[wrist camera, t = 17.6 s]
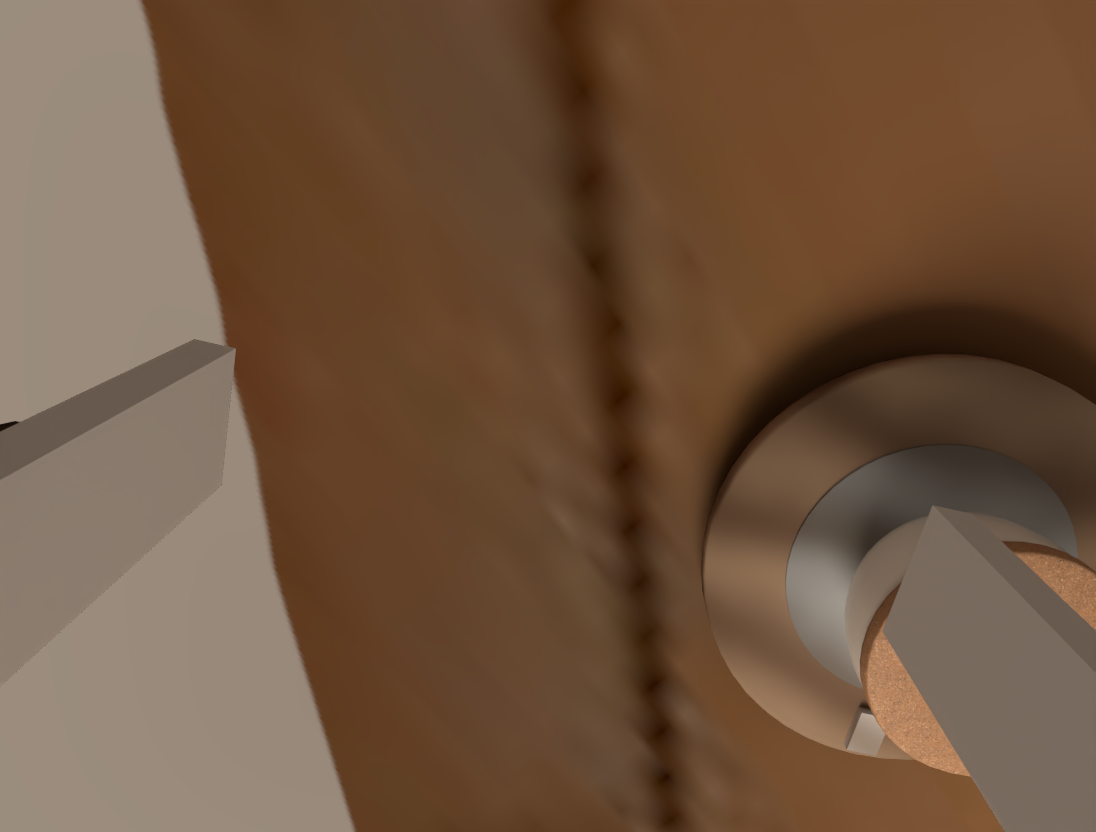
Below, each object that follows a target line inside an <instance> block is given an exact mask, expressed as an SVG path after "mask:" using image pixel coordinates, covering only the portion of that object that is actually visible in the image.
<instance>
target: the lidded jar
mask: <svg viewBox="0 0 1096 832" xmlns="http://www.w3.org/2000/svg"><path fill="white" fill-rule="evenodd" d="M961 512H963V511H961ZM966 513H970V514H973V515H974V516H975V517H976V518H977V519H978V520H979V521H980V522H982V523H983V524H984V525H985V526H986V527H987V528H988V529H989V530H990V531H991V532H992V533H993V534H994V535H995V536H996V537H997V538H998V539H999V540H1001V541H1002V542H1003V543H1004V544H1005V545H1006V546H1007V547H1008V548H1009V549H1010V550H1011V551H1012V552H1013V553H1014V554H1015V555H1016V556H1017V557H1019V558H1020V559H1021V560H1022V561H1023V562H1024V563H1025V564H1026V565H1027V566H1028V567H1029V568H1030V569H1031V570H1032V571H1033V572H1034V573H1035V574H1036V575H1038V576H1039V577H1040V578H1041V579H1042V580H1043V581H1044V582H1045V583H1046V584H1047V585H1048V586H1049V587H1050V588H1051V589H1052V590H1053V591H1054V592H1056V593H1057V594H1058V595H1059V596H1060V597H1061V598H1062V599H1063V600H1064V601H1065V602H1066V603H1067V604H1068V605H1069V606H1070V607H1071V608H1072V609H1073V610H1075V611H1076V612H1077V613H1078V614H1079V615H1080V616H1081V617H1082V618H1083V619H1084V620H1085V621H1086V622H1087V623H1088V624H1089V625H1090V626H1091V627H1093V628H1094V629H1095V630H1096V571H1094V570H1093V569H1092V568H1091V567H1089V566H1088V565H1087V564H1085V563H1084V562H1082V561H1081V560H1079V559H1077V558H1075V557H1073V556H1072V555H1070V554H1069V553H1068V552H1066V551H1065V550H1064V549H1062V548H1061V547H1060V546H1058V545H1057V544H1056V543H1054V542H1053V541H1051V540H1049V539H1048V538H1046V537H1044V536H1042V535H1040V534H1039V533H1037V532H1035V531H1033V530H1031V529H1029V528H1027V527H1025V526H1023V525H1021V524H1018V523H1015V522H1013V521H1010V520H1007V519H1004V518H1001V517H998V516H995V515H989V514H983V513H977V512H966ZM927 518H928V516H924V517H920V518H917V519H915V520H912V521H910V522H907V523H905V524H903V525H901V526H899V527H897V528H896V529H894V530H892V531H890V532H889V533H888V534H887V535H885V536H884V537H883V538H881V539H880V540H879V541H878V542H877V543H876V544H875V545H874V546H873V547H872V548H871V549H870V550H869V551H868V552H867V554H866V555H865V557H864V558H863V559H862V561H861V562H860V564H859V565H858V567H857V569H856V571H855V573H854V575H853V577H852V579H851V583H850V586H849V589H848V593H847V598H846V605H845V612H844V615H845V631H846V640H847V644H848V648H849V652H850V656H851V659H852V663H853V667H854V669H855V671H856V674H857V676H858V678H859V680H860V683H861V685H862V687H863V691H864V695H865V698H866V700H867V702H868V705H869V707H870V709H871V711H872V713H873V715H874V718H875V719H876V721H877V723H878V724H879V726H880V727H881V729H882V730H883V731H884V733H885V734H886V736H887V737H888V738H889V739H890V740H891V741H892V742H893V743H894V744H895V745H896V746H897V747H898V748H899V749H901V750H902V751H904V752H905V753H907V754H908V755H909V756H911V757H912V758H914V759H916V760H918V761H920V762H922V763H924V764H926V765H928V766H930V767H933V768H936V769H939V770H943V771H946V772H949V773H954V774H960V775H965V776H970V774H969V772H968V771H967V769H966V767H965V766H964V764H963V763H962V761H961V759H960V758H959V756H958V754H957V753H956V751H955V749H954V748H953V746H952V745H951V743H950V741H949V740H948V738H947V736H946V735H945V733H944V731H943V730H942V728H941V727H940V725H939V723H938V722H937V720H936V718H935V717H934V715H933V713H932V712H931V710H930V709H929V707H928V705H927V704H926V702H925V700H924V699H923V697H922V695H921V694H920V692H919V691H918V689H917V687H916V686H915V684H914V682H913V681H912V679H911V677H910V676H909V674H908V673H907V671H906V669H905V668H904V666H903V664H902V663H901V661H900V659H899V658H898V656H897V655H896V653H895V651H894V650H893V648H892V646H891V645H890V643H889V641H888V640H887V638H886V637H885V635H884V633H883V632H882V630H883V628H884V625H885V623H886V620H887V618H888V615H889V613H890V610H891V608H892V605H893V603H894V600H895V598H896V595H897V593H898V590H899V588H900V585H901V583H902V580H903V578H904V575H905V573H906V570H907V568H908V565H909V563H910V560H911V558H912V555H913V553H914V550H915V548H916V545H917V543H918V540H919V538H920V535H921V533H922V530H923V528H924V525H925V523H926V520H927Z"/></svg>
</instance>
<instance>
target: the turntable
mask: <svg viewBox="0 0 1096 832" xmlns="http://www.w3.org/2000/svg"><path fill="white" fill-rule="evenodd" d="M932 505H935V506H939V507H944V508H948V509H952V510H957V511H963V512H977V513H983V514H989V515H995V516H998V517H1001V518H1004V519H1007V520H1010V521H1013V522H1015V523H1018V524H1021V525H1023V526H1025V527H1027V528H1029V529H1031V530H1033V531H1035V532H1037V533H1039V534H1040V535H1042V536H1044V537H1046V538H1048V539H1049V540H1051V541H1053V542H1054V543H1056V544H1057V545H1058V546H1060V547H1061V548H1062V549H1064V550H1065V551H1066V552H1068V553H1069V554H1070V555H1072V556H1073V557H1075V558H1077V559H1079V560H1081V561H1082V562H1084V563H1085V564H1087V565H1088V566H1089V567H1091V568H1092V569H1093V570H1094V571H1096V405H1095V404H1094V403H1092V402H1091V401H1089V400H1088V399H1086V398H1085V397H1083V396H1081V395H1080V394H1078V393H1077V392H1075V391H1074V390H1072V389H1071V388H1069V387H1067V386H1065V385H1063V384H1061V383H1058V382H1056V381H1054V380H1052V379H1050V378H1048V377H1046V376H1044V375H1042V374H1039V373H1037V372H1035V371H1033V370H1031V369H1028V368H1026V367H1023V366H1019V365H1016V364H1013V363H1009V362H1006V361H1003V360H999V359H994V358H987V357H981V356H975V355H969V354H928V355H917V356H906V357H902V358H897V359H893V360H888V361H883V362H879V363H875V364H872V365H869V366H866V367H863V368H860V369H858V370H855V371H852V372H849V373H846V374H844V375H842V376H840V377H838V378H836V379H834V380H832V381H829V382H827V383H825V384H823V385H821V386H819V387H817V388H816V389H814V390H813V391H811V392H809V393H808V394H806V395H805V396H803V397H802V398H800V399H799V400H797V401H795V402H794V403H792V404H791V405H790V406H789V407H787V408H786V409H785V410H784V411H783V412H781V413H780V414H779V415H778V416H776V417H775V418H774V419H773V420H772V421H770V422H769V423H768V424H767V425H766V426H765V427H764V428H763V429H762V431H761V432H760V433H759V434H758V435H757V436H756V437H755V438H754V439H753V440H752V441H751V442H750V443H749V444H748V446H747V447H746V448H745V450H744V451H743V452H742V454H741V455H740V457H739V458H738V459H737V461H736V462H735V463H734V465H733V466H732V468H731V469H730V471H729V473H728V475H727V477H726V479H725V480H724V482H723V484H722V486H721V488H720V489H719V491H718V494H717V496H716V499H715V502H714V504H713V507H712V509H711V512H710V515H709V518H708V522H707V527H706V531H705V535H704V539H703V548H702V560H701V575H702V591H703V595H704V600H705V605H706V609H707V614H708V618H709V622H710V626H711V630H712V632H713V635H714V638H715V640H716V643H717V646H718V648H719V651H720V653H721V655H722V657H723V658H724V660H725V662H726V664H727V666H728V667H729V669H730V671H731V673H732V674H733V676H734V677H735V678H736V680H737V681H738V682H739V683H740V685H741V686H742V687H743V689H744V690H745V691H746V693H747V694H748V695H749V696H750V697H751V698H753V699H754V700H755V701H756V702H757V703H758V704H759V705H760V706H761V707H762V708H763V709H764V710H765V711H766V712H768V713H769V714H770V715H772V716H773V717H774V718H776V719H777V720H778V721H780V722H781V723H782V724H784V725H785V726H787V727H789V728H791V729H792V730H794V731H796V732H798V733H800V734H801V735H803V736H805V737H807V738H809V739H812V740H814V741H817V742H819V743H821V744H824V745H826V746H829V747H832V748H835V749H839V750H843V751H846V752H850V753H853V754H858V755H864V756H871V757H877V758H886V759H907V760H911V759H914V758H912V757H911V756H909V755H908V754H907V753H905V752H904V751H902V750H901V749H899V748H898V747H897V746H896V745H895V744H894V743H893V742H892V741H891V740H890V739H889V738H888V737H887V736H886V734H885V733H884V731H883V730H882V729H881V727H880V726H879V724H878V723H877V721H876V719H875V718H874V715H873V713H872V711H871V709H870V707H869V705H868V702H867V700H866V698H865V695H864V691H863V687H862V685H861V683H860V680H859V678H858V676H857V674H856V671H855V669H854V667H853V663H852V659H851V656H850V652H849V648H848V644H847V640H846V631H845V615H844V612H845V605H846V598H847V593H848V589H849V586H850V583H851V579H852V577H853V575H854V573H855V571H856V569H857V567H858V565H859V564H860V562H861V561H862V559H863V558H864V557H865V555H866V554H867V552H868V551H869V550H870V549H871V548H872V547H873V546H874V545H875V544H876V543H877V542H878V541H879V540H880V539H881V538H883V537H884V536H885V535H887V534H888V533H889V532H890V531H892V530H894V529H896V528H897V527H899V526H901V525H903V524H905V523H907V522H910V521H912V520H915V519H917V518H920V517H924V516H928V515H929V513H930V510H931V508H932Z"/></svg>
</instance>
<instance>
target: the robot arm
mask: <svg viewBox="0 0 1096 832" xmlns="http://www.w3.org/2000/svg"><path fill="white" fill-rule="evenodd" d="M235 351H236V349H235V348H231V347H227V346H222V345H217V344H213V343H208V342H204V341H200V340H195V339H194V340H192V341H190V342H188V343H185V344H183V345H181V346H179V347H177V348H175V349H173V350H171V351H169V352H167V353H164V354H162V355H160V356H158V357H156V358H154V359H152V360H150V361H148V362H146V363H143V364H141V365H139V366H137V367H135V368H133V369H131V370H129V371H127V372H125V373H123V374H120V375H118V376H117V377H114V378H112V379H110V380H108V381H106V382H104V383H101V384H100V385H97V386H95V387H93V388H91V389H89V390H87V391H85V392H83V393H81V394H78V395H76V396H74V397H72V398H70V399H68V400H66V401H64V402H62V403H60V404H57V405H55V406H53V407H51V408H49V409H47V410H45V411H43V412H41V413H38V414H36V415H34V416H32V417H30V418H28V419H26V420H24V421H22V422H16V421H14V422H9V423H5V424H0V686H1V685H2V684H3V683H4V682H6V681H7V680H8V679H9V678H10V677H11V676H12V675H13V674H14V673H15V672H17V671H18V670H19V669H20V668H21V667H22V666H23V665H24V664H25V663H26V662H28V661H29V660H30V659H31V658H32V657H33V656H34V655H35V654H36V653H38V652H39V651H40V650H41V649H42V648H43V647H44V646H45V645H46V644H47V643H48V642H50V641H51V640H52V639H53V638H54V637H55V636H56V635H57V634H58V633H60V632H61V631H62V630H63V629H64V628H65V627H66V626H67V625H68V624H69V623H71V621H73V620H74V619H75V618H76V617H77V616H78V615H79V614H80V613H82V612H83V611H84V610H85V609H86V608H87V607H88V606H89V605H90V604H91V603H93V601H95V600H96V599H97V598H98V597H99V596H100V595H101V594H102V593H104V592H105V591H106V590H107V589H108V588H109V587H110V586H111V585H112V584H113V583H115V582H116V581H117V580H118V579H119V578H120V577H121V576H122V575H123V574H124V573H125V572H127V571H128V570H129V569H130V568H131V567H132V566H133V565H134V564H135V563H137V561H139V560H140V559H141V558H142V557H143V556H144V555H145V554H146V553H148V552H149V551H150V550H151V549H152V548H153V547H154V546H155V545H156V544H157V543H158V542H160V541H161V540H162V539H163V538H164V537H165V536H166V535H167V534H168V533H170V531H172V530H173V529H174V528H175V527H176V526H177V525H178V524H179V523H181V522H182V521H183V520H184V519H185V518H186V517H187V516H188V515H189V514H190V513H192V511H194V510H195V509H196V508H197V507H198V506H199V505H200V504H201V503H202V502H204V501H205V500H206V499H207V498H208V497H209V496H210V495H211V494H212V493H213V492H215V491H216V490H217V489H218V488H219V487H220V486H221V485H222V475H223V467H224V457H225V447H226V438H227V428H228V419H229V408H230V398H231V390H232V380H233V371H234V361H235ZM882 632H883V633H884V635H885V637H886V638H887V640H888V641H889V643H890V645H891V646H892V648H893V650H894V651H895V653H896V655H897V656H898V658H899V659H900V661H901V663H902V664H903V666H904V668H905V669H906V671H907V673H908V674H909V676H910V677H911V679H912V681H913V682H914V684H915V686H916V687H917V689H918V691H919V692H920V694H921V695H922V697H923V699H924V700H925V702H926V704H927V705H928V707H929V709H930V710H931V712H932V713H933V715H934V717H935V718H936V720H937V722H938V723H939V725H940V727H941V728H942V730H943V731H944V733H945V735H946V736H947V738H948V740H949V741H950V743H951V745H952V746H953V748H954V749H955V751H956V753H957V754H958V756H959V758H960V759H961V761H962V763H963V764H964V766H965V767H966V769H967V771H968V772H969V774H970V776H971V777H972V779H973V781H974V782H975V784H976V785H977V787H978V789H979V790H980V792H981V794H982V795H983V797H984V799H985V800H986V802H987V804H988V805H989V807H990V808H991V810H992V812H993V813H994V815H995V817H996V818H997V820H998V822H999V823H1000V825H1001V826H1002V828H1003V830H1004V831H1005V832H1096V630H1095V629H1094V628H1093V627H1091V626H1090V625H1089V624H1088V623H1087V622H1086V621H1085V620H1084V619H1083V618H1082V617H1081V616H1080V615H1079V614H1078V613H1077V612H1076V611H1075V610H1073V609H1072V608H1071V607H1070V606H1069V605H1068V604H1067V603H1066V602H1065V601H1064V600H1063V599H1062V598H1061V597H1060V596H1059V595H1058V594H1057V593H1056V592H1054V591H1053V590H1052V589H1051V588H1050V587H1049V586H1048V585H1047V584H1046V583H1045V582H1044V581H1043V580H1042V579H1041V578H1040V577H1039V576H1038V575H1036V574H1035V573H1034V572H1033V571H1032V570H1031V569H1030V568H1029V567H1028V566H1027V565H1026V564H1025V563H1024V562H1023V561H1022V560H1021V559H1020V558H1019V557H1017V556H1016V555H1015V554H1014V553H1013V552H1012V551H1011V550H1010V549H1009V548H1008V547H1007V546H1006V545H1005V544H1004V543H1003V542H1002V541H1001V540H999V539H998V538H997V537H996V536H995V535H994V534H993V533H992V532H991V531H990V530H989V529H988V528H987V527H986V526H985V525H984V524H983V523H982V522H980V521H979V520H978V519H977V518H976V517H975V516H974V515H973V514H970V513H966V512H961V511H957V510H952V509H948V508H944V507H939V506H935V505H932V508H931V510H930V513H929V515H928V518H927V520H926V523H925V525H924V528H923V530H922V533H921V535H920V538H919V540H918V543H917V545H916V548H915V550H914V553H913V555H912V558H911V560H910V563H909V565H908V568H907V570H906V573H905V575H904V578H903V580H902V583H901V585H900V588H899V590H898V593H897V595H896V598H895V600H894V603H893V605H892V608H891V610H890V613H889V615H888V618H887V620H886V623H885V625H884V628H883V630H882Z"/></svg>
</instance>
